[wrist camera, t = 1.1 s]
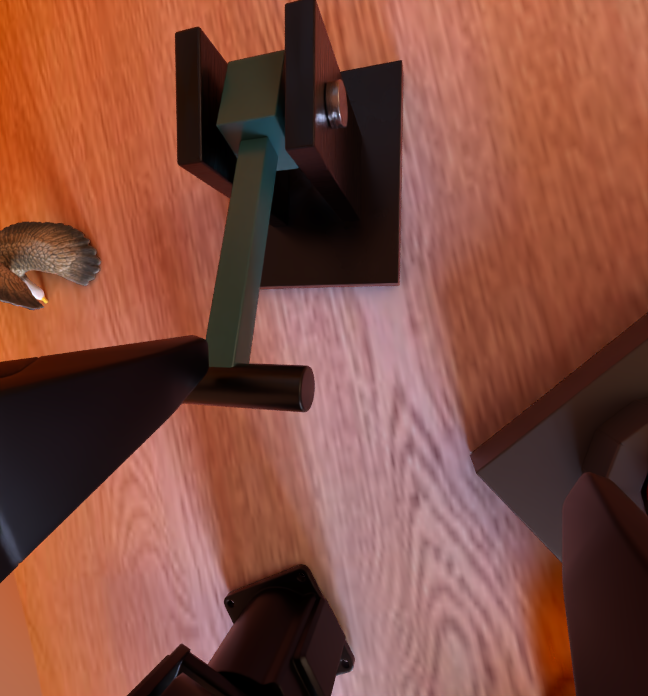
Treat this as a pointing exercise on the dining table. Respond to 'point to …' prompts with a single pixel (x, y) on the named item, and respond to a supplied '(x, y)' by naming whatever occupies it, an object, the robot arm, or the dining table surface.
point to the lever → (249, 244)
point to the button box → (575, 438)
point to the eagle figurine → (42, 259)
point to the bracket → (310, 156)
